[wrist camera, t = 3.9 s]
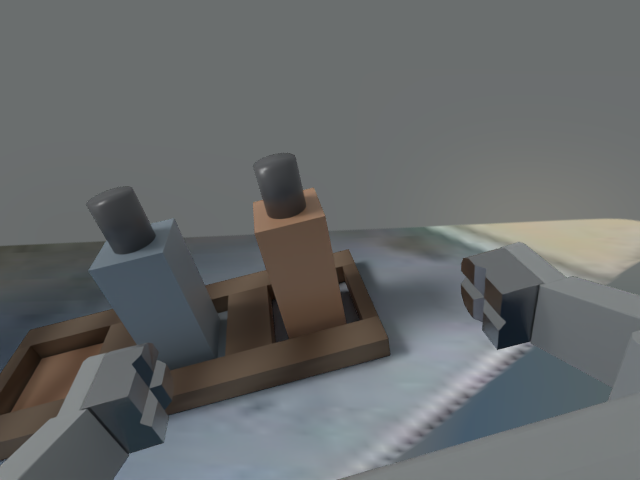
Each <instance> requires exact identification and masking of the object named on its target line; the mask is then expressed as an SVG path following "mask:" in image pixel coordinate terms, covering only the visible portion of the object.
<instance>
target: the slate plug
mask: <svg viewBox="0 0 640 480" xmlns="http://www.w3.org/2000/svg"><path fill="white" fill-rule="evenodd" d="M86 206H87V207H88V209H89V211H90V212H91V214H92V216H93V218H94V219H95V221H96V223H97V224H98V226H99V228H100V229H101V231H102V233H103V234H104V236H105V238H106V240H107V241H106V242H105V244H104V246H103V247H102V249H101V250H100V252H99V254H98V255H97V257H96V259H95V260H94V262H93V264H92V265H91V267H90V269H89V270H88V271H89V273H90V274H91V276H92V277H93V279H94V280H95V282H96V283H97V285H98V286H99V288H100V289H101V291H102V293H103V294H104V296H105V297H106V299H107V300H108V302H109V303H110V305H111V306H112V308H113V309H114V311H115V312H116V314H117V315H118V317H119V318H120V320H121V321H122V323H123V324H124V326H125V327H126V329H127V331H128V332H129V334H130V335H131V337H132V338H133V340H134V341H135V343H136V344H137V345H139V344H143V343H147V342H148V343H153V344H154V346H155V347H156V349H157V350H158V352H159V353H158V357H157V360H159V361H161V362H163V363H166V364H167V366H168V367H169V369H170V370H174V369H178V368H181V367H185V366H189V365H193V364H197V363H200V362H204V361H208V360H212V359H216V358H217V357H218V344H219V331H220V318H219V315H218V313H217V311H216V309H215V307H214V304H213V302H212V300H211V298H210V296H209V293H208V291H207V289H206V287H205V285H204V282H203V280H202V278H201V276H200V274H199V271H198V269H197V267H196V265H195V263H194V260H193V258H192V256H191V254H190V252H189V249H188V247H187V245H186V243H185V241H184V239H183V236H182V234H181V232H180V230H179V228H178V225H177V223H176V221H175V219H174V218H173V219H168V220H164V221H160V222H156V223H152V224H150V222H149V220H148V218H147V216H146V214H145V212H144V210H143V208H142V206H141V204H140V202H139V200H138V198H137V196H136V194H135V192H134V190H133V189H132V187H129V186H123V187H117V188H113V189H110V190H107V191H105V192H102V193H100V194H98V195H96V196H95V197H93V198H91V199H90V200H89V201H88V202H87V204H86Z"/></svg>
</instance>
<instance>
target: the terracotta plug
mask: <svg viewBox="0 0 640 480" xmlns="http://www.w3.org/2000/svg"><path fill="white" fill-rule="evenodd" d="M253 167H254V171H255V175H256V178H257V182H258V185H259V188H260V192H261V195H262V198H263V200H261V201H257V202H253V211H254V230H255V236H256V239H257V242H258V245H259V248H260V251H261V255H262V258H263V261H264V264H265V267H266V270H267V273H268V276H269V279H270V282H271V285H272V288H273V291H274V294H275V297H276V300H277V303H278V307H279V310H280V313H281V316H282V319H283V322H284V325H285V328H286V331H287V334H288V337H289V339H291V338H295V337H299V336H303V335H307V334H310V333H314V332H318V331H322V330H326V329H329V328H333V327H337V326H341V325H345V324H347V323H346V318H345V313H344V308H343V303H342V298H341V293H340V288H339V283H338V278H337V273H336V268H335V263H334V258H333V253H332V248H331V243H330V238H329V233H328V227H327V222H326V218H325V214H324V212H323V209H322V207H321V204H320V202H319V199H318V197H317V194H316V192H315V189H314V188H311V189H306V190H303V188H302V184H301V179H300V175H299V170H298V166H297V162H296V157H295V155H293V154H290V153H279V154H273V155H269V156H266V157H264V158H262V159H260V160H258V161H257V162H255V163H254V165H253Z"/></svg>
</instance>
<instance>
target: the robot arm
mask: <svg viewBox="0 0 640 480" xmlns="http://www.w3.org/2000/svg"><path fill="white" fill-rule="evenodd" d="M461 271H462V272H463V274H464V275H465V276H466V278H465V279H464V281H463V282H462V284H461V294H462V298H463V301H464V304H465V306H466V308H467V310H468V312H469V313H470V315H471V316H472V317H473V318H474V319H476V320H479V321H481V322H483V326H482V331H483V332H484V333H485V335H486V336H487V337H488V338H489V340H490V341H491V342H492V344H493V345H494V346H495V348H496V349H497V350H498V349H502V348H506V347H510V346H514V345H518V344H522V343H526V342H530V341H531V344H533V345H535V346H537V347H538V348H540V349H542V350H544V351H546V352H548V353H549V354H551V355H553V356H555V357H557V358H559V359H561V360H562V361H564V362H566V363H568V364H570V365H572V366H574V367H575V368H577V369H579V370H581V371H583V372H584V373H586V374H588V375H590V376H592V377H594V378H596V379H597V380H599V381H601V382H603V383H605V384H607V385H608V386H610V387H612V390H611V393H610V396H609V398H608V401H607V402H604V403H600V404H597V405H593V406H590V407H586V408H583V409H579V410H576V411H573V412H569V413H566V414H563V415H559V416H555V417H552V418H548V419H545V420H542V421H538V422H535V423H531V424H528V425H524V426H521V427H518V428H514V429H510V430H507V431H503V432H500V433H497V434H493V435H490V436H486V437H483V438H479V439H476V440H473V441H469V442H466V443H462V444H459V445H455V446H452V447H448V448H445V449H441V450H438V451H434V452H431V453H427V454H424V455H421V456H417V457H414V458H410V459H407V460H403V461H400V462H396V463H393V464H390V465H386V466H383V467H379V468H376V469H372V470H369V471H365V472H362V473H358V474H355V475H352V476H348V477H345V478H341V479H338V480H640V295H637V294H634V293H630V292H627V291H623V290H619V289H616V288H613V287H609V286H606V285H602V284H599V283H595V282H592V281H588V280H585V279H581V278H578V277H574V276H572V277H568V278H567V277H566V276H564V275H563V274H562V273H561V272H559V271H558V270H557V269H556V268H554V267H553V266H552V265H551V264H549V263H548V262H547V261H546V260H544V259H543V258H542V257H541V256H539V255H538V254H537V253H536V252H534V251H533V250H532V249H531V248H529V247H528V246H527V245H526V244H524V243H521V242H518V243H514V244H511V245H507V246H504V247H501V248H499V249H495V250H491V251H487V252H484V253H480V254H477V255H473V256H469V257H466V258H463V260H462V263H461ZM158 353H159V352H158V350H157V349H156V347H155V346H154V344H153V343H148V342H147V343H143V344H139V345H135V346H131V347H127V348H123V349H118V350H114V351H110V352H108V353H104V354H99V355H95V356H91V357H88V358H87V359H86V360H84V361H83V363H82V365H81V367H80V369H79V371H78V373H77V375H76V378H75V380H74V382H73V384H72V386H71V388H70V390H69V392H68V394H67V396H66V398H65V400H64V403H63V405H62V407H61V409H60V411H59V413H58V415H57V417H55V418H51V419H49V420H48V421H47V422H46V423H45V424H44V425H43V426H42V427H41V428H40V429H39V430H38V431H37V432H35V433H34V434H33V435H32V436H31V437H30V438H29V439H28V440H27V441H26V442H25V443H24V444H23V445H22V446H21V447H20V448H19V449H18V450H17V451H15V452H14V453H13V454H12V455H11V456H10V457H9V458H8V459H7V460H6V461H5V462H4V463H3V464H2V465H1V466H0V480H113V479H114V477H115V476H116V474H117V473H118V471H119V470H120V468H121V467H122V465H123V464H124V462H125V461H126V459H127V458H128V456H129V455H128V454H129V453H133V452H136V451H139V450H142V449H146V448H149V447H152V446H155V445H159V444H162V443H164V440H165V435H166V430H167V425H168V420H169V416H168V415H167V413H166V412H165V409H166V408H167V407H168V405H169V404H170V403H171V401H172V399H173V393H174V385H173V377H172V374H171V371H170V369H169V367H168V366H167V364H166V363H163V362H161V361H159V360H157V357H158Z"/></svg>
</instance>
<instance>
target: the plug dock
mask: <svg viewBox="0 0 640 480" xmlns="http://www.w3.org/2000/svg"><path fill="white" fill-rule="evenodd" d="M333 258H334V263H335V268H336V273H337V278H338V283H339V282H343V281H345V282H346V285H347V287H348V290H349V293H350V295H351V298H352V301H353V303H354V306H355V309H356V311H357V314H358V316H359V319H360V321H356V322H352V323H348V324H345V325H341V326H337V327H333V328H329V329H326V330H322V331H318V332H314V333H310V334H307V335H303V336H299V337H295V338H291V339H288V340H284V341H280V342H276V339H275V329H274V319H273V309H272V300H273V299H276V297H275V294H274V291H273V288H272V285H271V282H270V279H269V276H268V273H267V270H265V271H261V272H257V273H253V274H249V275H245V276H241V277H237V278H233V279H229V280H225V281H221V282H217V283H213V284H209V285H205V287H206V289H207V291H208V293H209V296H210V298H211V300H212V302H213V304H214V307H215V309H216V311H217V313H218V315H219V318H220V331H219V344H218V357H217V358H216V359H212V360H208V361H204V362H200V363H197V364H193V365H189V366H185V367H181V368H178V369H174V370H170V371H171V374H172V377H173V385H174V393H173V399H172V401H171V403H170V404H169V405H168V407H167V408H166V409H165V412H166V413H167V415H170V414H174V413H177V412H181V411H185V410H188V409H192V408H196V407H200V406H203V405H207V404H211V403H214V402H218V401H222V400H226V399H229V398H233V397H237V396H240V395H244V394H248V393H252V392H255V391H259V390H263V389H266V388H270V387H274V386H277V385H281V384H285V383H289V382H292V381H296V380H300V379H303V378H307V377H311V376H315V375H318V374H322V373H326V372H329V371H333V370H337V369H341V368H344V367H348V366H352V365H355V364H359V363H363V362H367V361H370V360H374V359H378V358H381V357H385V356H389V355H390V349H389V340H388V337H387V334H386V332H385V330H384V328H383V325H382V323H381V321H380V319H379V316H378V314H377V312H376V310H375V307H374V305H373V303H372V301H371V298H370V296H369V294H368V292H367V289H366V287H365V285H364V283H363V280H362V278H361V276H360V274H359V271H358V269H357V267H356V265H355V262H354V260H353V258H352V256H351V253H350V251H349V249H348V250H344V251H340V252H336V253H333ZM135 345H137V344H136V343H135V341H134V340H133V338H132V337H131V335H130V334H129V332H128V331H127V329H126V327H125V326H124V324H123V323H122V321H121V320H120V318H119V317H118V315H117V314H116V312H115V311H114V309H111V310H107V311H103V312H99V313H95V314H91V315H87V316H83V317H79V318H75V319H71V320H67V321H63V322H59V323H55V324H51V325H47V326H43V327H39V328H36V329H32V330H30V331H29V332H28V334H27V335H26V336H25V338H24V339H23V341H22V342H21V344H20V345H19V347H18V348H17V350H16V351H15V353H14V354H13V356H12V357H11V359H10V360H9V362H8V363H7V365H6V366H5V368H4V369H3V370H2V372H1V373H0V460H3V459H7V458H9V457H10V456H11V455H12V454H13V453H14V452H15V451H17V450H18V449H19V448H20V447H21V446H22V445H23V444H24V443H25V442H26V441H27V440H28V439H29V438H30V437H31V436H32V435H33V434H34V433H35V432H37V431H38V430H39V429H40V428H41V427H42V426H43V425H44V424H45V423H46V422H47V421H48V420H49V419H51V418H55V417H57V415H58V413H59V411H60V409H61V407H62V405H63V403H64V400H65V398H66V396H67V394H68V392H69V390H70V388H71V386H72V384H73V382H74V380H75V378H76V375H77V373H78V371H79V369H80V367H81V365H82V363H83V361H84V360H86V359H87V358H88V357H91V356H95V355H99V354H104V353H108V352H110V351H114V350H118V349H123V348H127V347H131V346H135Z"/></svg>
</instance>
